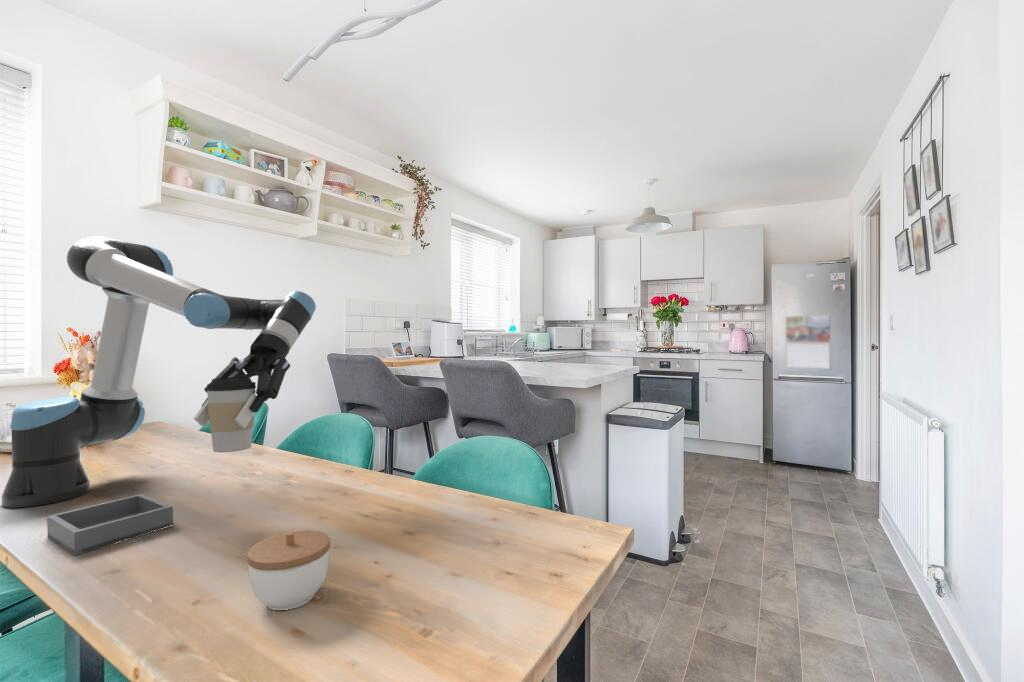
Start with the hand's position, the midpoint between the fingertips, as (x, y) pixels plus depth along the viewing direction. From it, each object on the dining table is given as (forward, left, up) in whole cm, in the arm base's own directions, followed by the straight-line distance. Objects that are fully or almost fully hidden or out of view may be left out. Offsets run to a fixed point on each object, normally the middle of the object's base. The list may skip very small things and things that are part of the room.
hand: (219, 423), depth 94 cm
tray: (-16, -13, -21) cm, 29 cm away
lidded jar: (+37, -9, -21) cm, 44 cm away
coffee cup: (-1, +3, -6) cm, 7 cm away
